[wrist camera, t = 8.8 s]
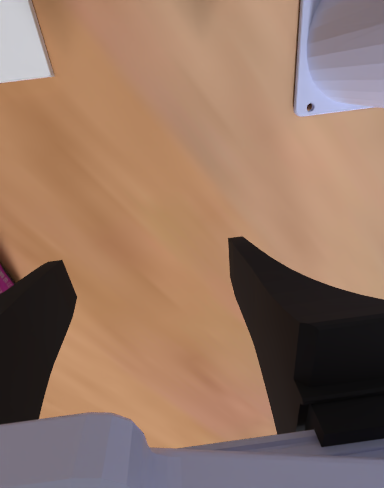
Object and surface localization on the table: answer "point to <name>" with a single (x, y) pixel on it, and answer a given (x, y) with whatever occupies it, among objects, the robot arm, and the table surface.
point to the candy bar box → (5, 280)
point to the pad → (21, 43)
